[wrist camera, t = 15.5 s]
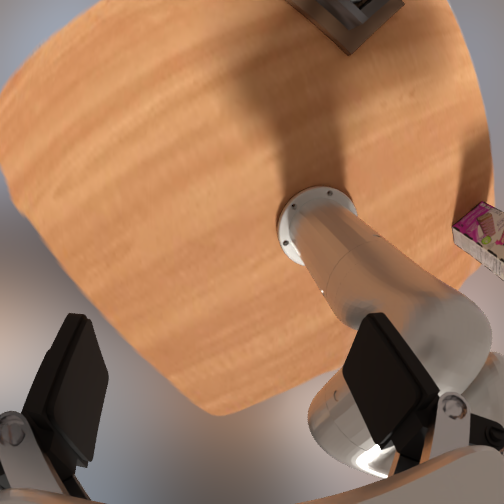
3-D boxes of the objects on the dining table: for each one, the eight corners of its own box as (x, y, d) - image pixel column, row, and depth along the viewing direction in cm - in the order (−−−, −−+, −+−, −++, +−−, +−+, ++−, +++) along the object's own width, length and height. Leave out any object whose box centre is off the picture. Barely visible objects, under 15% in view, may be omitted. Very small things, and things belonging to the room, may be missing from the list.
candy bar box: (481, 198, 45) (538, 230, 31) (483, 217, 48) (536, 250, 33) (450, 225, 47) (508, 265, 32) (453, 244, 49) (506, 285, 35)
